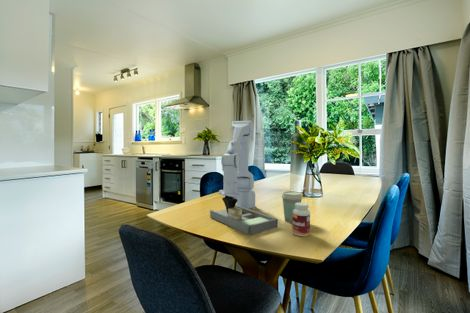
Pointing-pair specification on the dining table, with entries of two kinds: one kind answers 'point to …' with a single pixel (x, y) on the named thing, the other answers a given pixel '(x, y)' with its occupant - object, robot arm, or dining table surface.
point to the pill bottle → (301, 220)
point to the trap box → (246, 221)
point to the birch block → (235, 213)
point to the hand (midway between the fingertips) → (230, 214)
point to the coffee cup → (290, 204)
